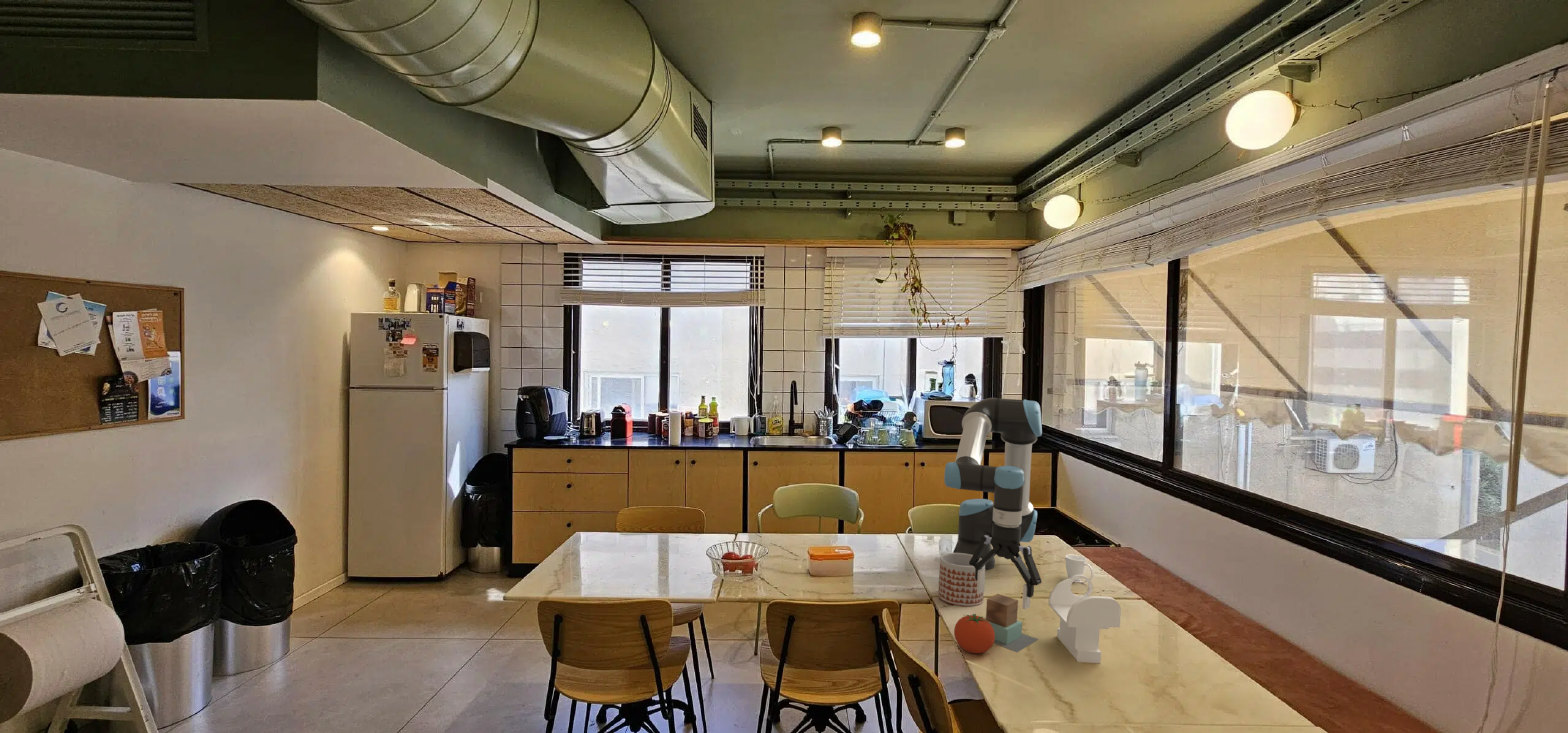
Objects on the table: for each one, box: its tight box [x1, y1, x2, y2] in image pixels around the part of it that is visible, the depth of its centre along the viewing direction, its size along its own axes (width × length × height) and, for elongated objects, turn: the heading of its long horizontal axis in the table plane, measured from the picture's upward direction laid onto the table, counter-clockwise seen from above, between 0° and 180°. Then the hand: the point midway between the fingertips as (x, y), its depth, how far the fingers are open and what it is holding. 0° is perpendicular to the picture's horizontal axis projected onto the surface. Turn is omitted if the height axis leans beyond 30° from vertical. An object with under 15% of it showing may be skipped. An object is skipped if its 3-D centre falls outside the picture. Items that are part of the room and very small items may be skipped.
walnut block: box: [985, 593, 1019, 628], centre depth 185 cm, size 6×6×6 cm
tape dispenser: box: [1048, 574, 1122, 664], centre depth 179 cm, size 14×13×18 cm
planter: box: [937, 552, 985, 608], centre depth 211 cm, size 14×14×13 cm
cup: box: [1064, 554, 1094, 584], centre depth 231 cm, size 7×10×8 cm
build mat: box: [993, 633, 1039, 653], centre depth 185 cm, size 16×12×1 cm
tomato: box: [953, 613, 995, 654], centre depth 175 cm, size 10×10×10 cm
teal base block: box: [983, 617, 1023, 644], centre depth 185 cm, size 8×8×4 cm
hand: (1002, 599), depth 185 cm, fingers open, 13 cm apart
